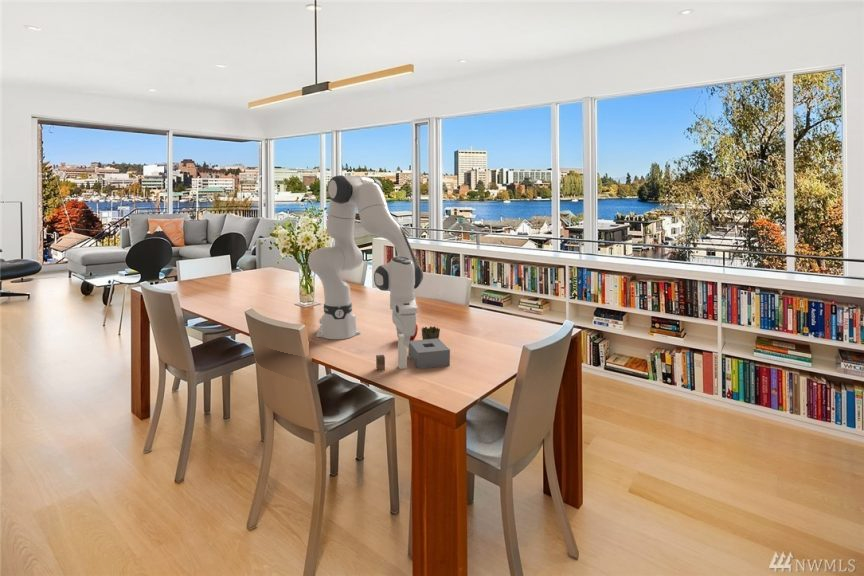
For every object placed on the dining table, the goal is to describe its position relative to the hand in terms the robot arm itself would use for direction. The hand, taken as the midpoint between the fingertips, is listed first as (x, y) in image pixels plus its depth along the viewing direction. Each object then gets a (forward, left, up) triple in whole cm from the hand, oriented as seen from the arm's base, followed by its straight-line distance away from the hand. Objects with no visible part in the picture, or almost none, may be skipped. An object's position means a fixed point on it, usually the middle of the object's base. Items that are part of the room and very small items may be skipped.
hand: (403, 341), depth 169 cm
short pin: (0, -8, -10) cm, 13 cm away
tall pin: (0, 0, -10) cm, 10 cm away
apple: (-29, +9, -10) cm, 32 cm away
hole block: (-4, +11, -10) cm, 15 cm away
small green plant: (-18, +16, -10) cm, 26 cm away
